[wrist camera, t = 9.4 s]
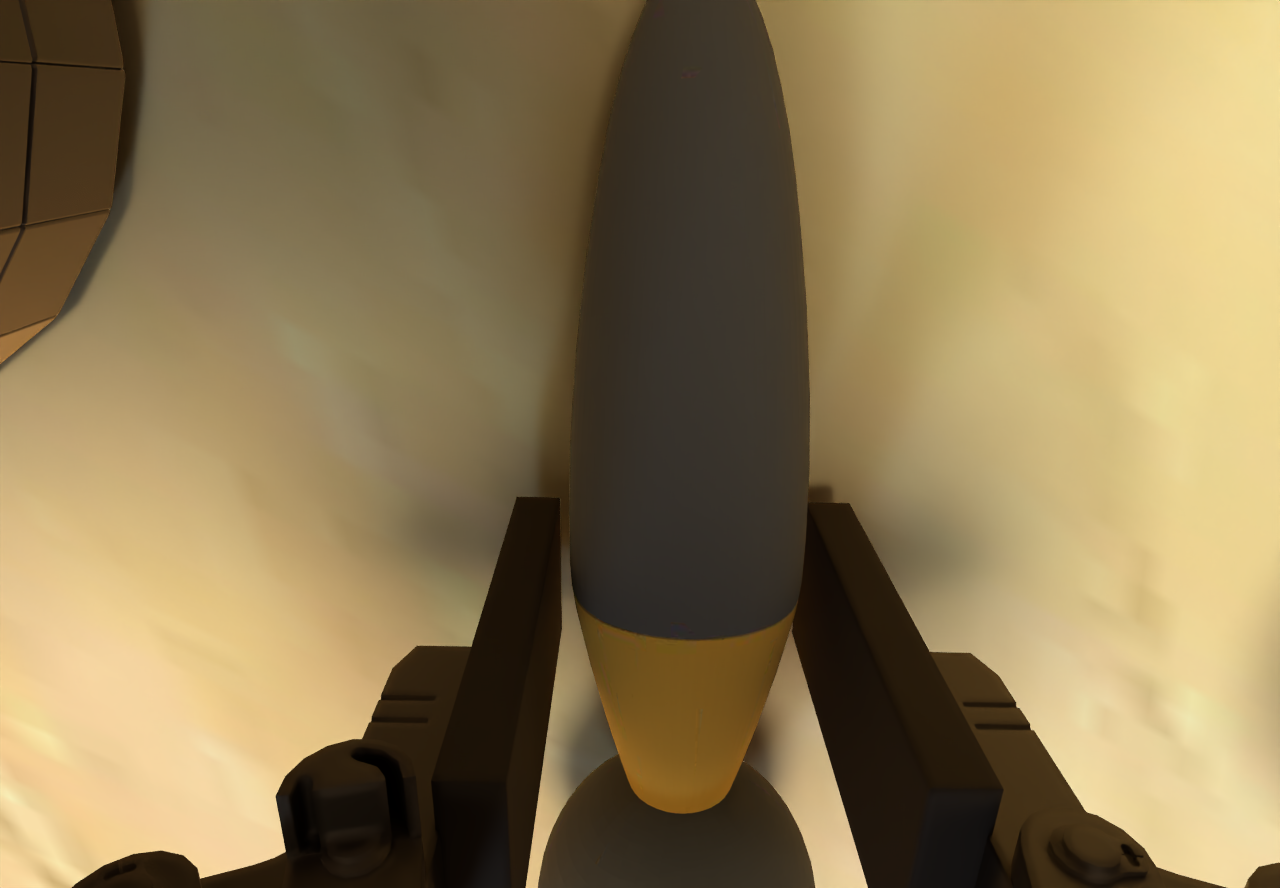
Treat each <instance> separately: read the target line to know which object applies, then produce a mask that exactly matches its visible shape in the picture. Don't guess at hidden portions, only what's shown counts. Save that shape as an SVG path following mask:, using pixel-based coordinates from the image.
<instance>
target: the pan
mask: <svg viewBox="0 0 1280 888" xmlns="http://www.w3.org/2000/svg"><path fill="white" fill-rule="evenodd" d="M123 66H124V62H123V57H122V51H121V46H120V41H119V36H118V31H117V26H116V21H115V15H114V10H113V5H112V0H0V364H1V363H2V362H3V361H4V360H6V359H7V358H8V357H9V356H10V355H12V354H13V353H14V352H15V351H16V350H18V349H19V348H20V347H21V346H22V345H24V344H25V343H26V342H27V341H28V340H30V339H31V338H32V337H33V336H34V335H36V334H37V333H38V332H39V331H40V330H42V329H43V328H44V327H45V326H46V325H48V324H49V323H50V322H51V321H53V320H54V319H55V318H56V316H57V314H59V312H60V311H61V309H62V307H63V305H64V303H65V301H66V299H67V297H68V295H69V293H70V291H71V289H72V287H73V285H74V283H75V281H76V279H77V277H78V275H79V273H80V271H81V269H82V267H83V265H84V263H85V261H86V259H87V257H88V255H89V253H90V251H91V249H92V247H93V245H94V243H95V241H96V239H97V237H98V235H99V233H100V231H101V229H102V227H103V225H104V224H105V222H106V220H107V218H108V216H109V214H110V210H109V209H110V208H111V207H112V200H113V191H114V181H115V172H116V162H117V153H118V143H119V134H120V124H121V115H122V105H123V96H124V86H125V77H126V73H125V71H124V70H122V68H123Z"/></svg>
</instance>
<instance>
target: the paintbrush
mask: <svg viewBox="0 0 1280 888" xmlns="http://www.w3.org/2000/svg"><path fill="white" fill-rule="evenodd" d="M809 436H810V388H809V360H808V333H807V305H806V292H805V278H804V265H803V252H802V239H801V226H800V216H799V205H798V195H797V184H796V175H795V168H794V160H793V153H792V146H791V138H790V131H789V125H788V120H787V114H786V109H785V103H784V98H783V93H782V87H781V83H780V79H779V75H778V70H777V66H776V62H775V57H774V53H773V49H772V46H771V43H770V39H769V36H768V33H767V30H766V27H765V23H764V20H763V17H762V15H761V12H760V10H759V7H758V5H757V3H756V0H647V2H646V4H645V6H644V8H643V10H642V13H641V15H640V18H639V20H638V23H637V25H636V28H635V30H634V33H633V36H632V39H631V42H630V45H629V48H628V51H627V54H626V58H625V61H624V64H623V67H622V70H621V74H620V78H619V82H618V86H617V89H616V93H615V97H614V101H613V105H612V110H611V114H610V119H609V124H608V128H607V133H606V139H605V144H604V150H603V155H602V160H601V166H600V171H599V176H598V183H597V189H596V196H595V203H594V209H593V216H592V222H591V229H590V235H589V242H588V248H587V256H586V264H585V272H584V281H583V290H582V300H581V309H580V319H579V329H578V338H577V348H576V360H575V372H574V387H573V403H572V421H571V440H570V490H569V528H570V565H571V578H572V587H573V592H574V598H575V604H576V609H577V613H578V617H579V621H580V625H581V629H582V632H583V636H584V640H585V644H586V648H587V652H588V656H589V660H590V664H591V667H592V670H593V674H594V677H595V681H596V684H597V687H598V691H599V694H600V697H601V701H602V704H603V707H604V711H605V714H606V718H607V721H608V724H609V727H610V730H611V733H612V736H613V739H614V741H615V744H616V747H617V750H618V753H619V754H618V755H616V756H614V757H612V758H610V759H609V760H607V761H605V762H604V763H603V764H602V765H600V766H599V767H598V768H597V769H595V770H594V771H593V772H592V773H591V774H590V775H589V776H588V777H587V778H586V779H585V780H584V781H583V782H582V783H581V784H580V785H579V786H578V787H577V789H576V790H575V791H574V793H573V794H572V796H571V797H570V798H569V800H568V801H567V803H566V804H565V806H564V808H563V809H562V811H561V813H560V815H559V817H558V819H557V821H556V823H555V825H554V827H553V829H552V832H551V834H550V836H549V839H548V843H547V846H546V849H545V852H544V856H543V861H542V866H541V871H540V877H539V883H538V888H815V883H814V877H813V871H812V866H811V861H810V858H809V855H808V852H807V849H806V846H805V843H804V840H803V837H802V834H801V832H800V830H799V828H798V826H797V824H796V822H795V820H794V818H793V816H792V814H791V812H790V811H789V809H788V807H787V805H786V804H785V803H784V801H783V800H782V798H781V797H780V796H779V794H778V793H777V792H776V790H775V789H774V788H773V787H772V786H771V784H770V783H769V782H768V781H767V780H766V779H765V778H764V777H762V776H761V775H760V774H759V773H758V772H757V771H756V770H755V769H754V768H752V767H751V766H750V765H748V764H747V763H745V762H743V758H744V756H745V754H746V751H747V749H748V746H749V744H750V741H751V739H752V736H753V734H754V732H755V729H756V727H757V724H758V721H759V718H760V716H761V713H762V710H763V708H764V705H765V702H766V699H767V697H768V694H769V691H770V688H771V686H772V683H773V680H774V677H775V675H776V672H777V669H778V666H779V663H780V660H781V657H782V653H783V650H784V647H785V644H786V641H787V638H788V635H789V632H790V629H791V626H792V622H793V619H794V616H795V612H796V607H797V603H798V599H799V595H800V589H801V583H802V574H803V563H804V552H805V541H806V525H807V506H808V487H809Z"/></svg>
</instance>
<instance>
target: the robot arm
mask: <svg viewBox="0 0 1280 888" xmlns="http://www.w3.org/2000/svg"><path fill="white" fill-rule="evenodd" d="M561 630H562V606H561V531H560V498H549V497H517V498H516V501H515V505H514V508H513V511H512V515H511V518H510V521H509V525H508V528H507V531H506V534H505V538H504V541H503V544H502V548H501V551H500V554H499V558H498V561H497V564H496V567H495V571H494V574H493V577H492V581H491V584H490V587H489V591H488V594H487V597H486V600H485V604H484V607H483V610H482V614H481V617H480V620H479V624H478V627H477V630H476V634H475V637H474V640H473V643H472V647H458V646H416V647H415V648H414V649H413V650H412V651H411V652H410V653H409V654H408V655H406V656H405V657H404V658H403V659H402V660H401V661H400V662H399V663H398V664H397V665H396V666H395V667H394V668H393V669H392V671H391V673H390V676H389V678H388V680H387V683H386V685H385V687H384V690H383V692H382V694H381V700H379V701H378V703H377V706H376V708H375V710H374V713H373V715H372V721H371V723H369V724H368V727H367V729H366V731H365V734H364V736H363V738H362V739H352V740H349V741H345V742H341V743H337V744H333V745H330V746H327V747H325V748H323V749H321V750H319V751H317V752H315V753H314V754H312V755H310V756H308V757H306V758H304V759H303V760H302V761H301V762H300V763H299V764H298V765H297V766H296V767H295V768H294V769H293V770H291V771H290V772H289V773H288V774H287V775H286V776H285V778H284V780H283V782H282V784H281V786H280V788H279V790H278V792H277V794H276V801H277V806H278V812H279V817H280V822H281V828H282V833H283V838H284V843H285V849H286V852H285V853H283V854H281V855H279V856H277V857H275V858H273V859H270V860H267V861H264V862H261V863H258V864H255V865H252V866H248V867H244V868H240V869H236V870H233V871H229V872H225V873H221V874H217V875H213V876H209V877H205V878H201V879H200V877H199V873H198V869H197V867H195V866H194V865H193V864H192V863H191V862H190V861H189V860H188V859H187V858H186V857H185V856H183V855H179V854H174V853H170V852H165V851H155V852H146V853H138V854H133V855H130V856H127V857H125V858H122V859H120V860H117V861H114V862H112V863H109V864H107V865H104V866H102V867H101V868H99V869H98V870H96V871H95V872H93V873H92V874H90V875H89V876H87V877H86V878H84V879H82V880H81V881H79V882H78V883H76V884H75V885H74V886H73V887H72V888H525V887H526V880H527V873H528V866H529V859H530V851H531V844H532V837H533V830H534V823H535V816H536V809H537V801H538V794H539V787H540V780H541V773H542V766H543V759H544V751H545V744H546V737H547V730H548V723H549V716H550V709H551V702H552V694H553V687H554V680H555V673H556V666H557V659H558V652H559V644H560V637H561ZM792 634H793V637H794V641H795V644H796V648H797V651H798V654H799V658H800V661H801V664H802V668H803V671H804V674H805V678H806V681H807V684H808V688H809V691H810V694H811V698H812V701H813V705H814V708H815V711H816V715H817V718H818V721H819V725H820V728H821V731H822V735H823V738H824V741H825V745H826V748H827V751H828V755H829V758H830V761H831V765H832V768H833V772H834V775H835V778H836V782H837V785H838V788H839V792H840V795H841V798H842V802H843V805H844V808H845V812H846V815H847V818H848V822H849V825H850V828H851V832H852V835H853V839H854V842H855V845H856V849H857V852H858V855H859V859H860V862H861V865H862V869H863V872H864V875H865V879H866V882H867V885H868V888H1226V887H1222V886H1218V885H1215V884H1211V883H1207V882H1204V881H1200V880H1196V879H1193V878H1189V877H1185V876H1181V875H1178V874H1175V873H1172V872H1169V871H1166V870H1163V869H1161V868H1158V867H1156V866H1155V864H1154V863H1153V861H1152V860H1151V858H1150V857H1149V855H1148V854H1147V852H1146V851H1145V849H1144V848H1143V847H1142V846H1141V845H1140V844H1138V843H1137V842H1136V841H1135V840H1134V839H1133V838H1132V837H1131V836H1129V835H1128V834H1127V833H1126V832H1125V831H1124V830H1122V829H1121V828H1119V827H1117V826H1115V825H1113V824H1112V823H1110V822H1108V821H1106V820H1104V819H1103V818H1101V817H1099V816H1097V815H1093V814H1090V813H1087V812H1086V811H1085V810H1084V808H1083V807H1082V805H1081V803H1080V802H1079V800H1078V799H1077V797H1076V796H1075V794H1074V792H1073V791H1072V789H1071V788H1070V786H1069V785H1068V783H1067V782H1066V780H1065V778H1064V777H1063V775H1062V774H1061V772H1060V771H1059V769H1058V767H1057V766H1056V764H1055V763H1054V761H1053V760H1052V758H1051V757H1050V755H1049V753H1048V752H1047V750H1046V749H1045V747H1044V746H1043V744H1042V742H1041V741H1040V739H1039V738H1038V736H1037V735H1036V733H1035V732H1034V730H1031V729H1030V724H1029V722H1028V721H1027V719H1026V717H1025V716H1024V714H1023V713H1022V711H1021V710H1020V708H1017V707H1016V702H1015V700H1014V699H1013V697H1012V696H1011V694H1010V692H1009V691H1008V689H1007V688H1006V686H1005V685H1004V683H1003V681H1002V680H1001V678H1000V677H999V676H998V675H997V674H996V673H995V672H993V671H992V670H991V669H990V668H988V667H987V666H986V665H985V664H983V663H982V662H981V661H980V660H978V659H977V658H976V657H975V656H973V655H972V654H971V653H943V652H929V650H928V648H927V646H926V644H925V643H924V641H923V639H922V637H921V635H920V633H919V631H918V630H917V628H916V626H915V624H914V622H913V620H912V618H911V617H910V615H909V613H908V611H907V609H906V607H905V606H904V604H903V602H902V600H901V598H900V596H899V594H898V593H897V591H896V589H895V587H894V585H893V583H892V581H891V580H890V578H889V576H888V574H887V572H886V570H885V569H884V567H883V565H882V563H881V561H880V559H879V557H878V556H877V554H876V552H875V550H874V548H873V546H872V544H871V543H870V541H869V539H868V537H867V535H866V533H865V532H864V530H863V528H862V526H861V524H860V522H859V520H858V519H857V517H856V515H855V513H854V511H853V509H852V507H851V506H850V504H849V503H808V506H807V525H806V541H805V552H804V563H803V574H802V583H801V589H800V595H799V599H798V603H797V607H796V612H795V616H794V619H793V627H792ZM1245 888H1280V863H1275V864H1270V865H1265V866H1261V867H1258V868H1257V869H1256V871H1255V872H1254V873H1253V874H1252V875H1251V876H1250V878H1249V879H1248V881H1247V883H1246V886H1245Z"/></svg>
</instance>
